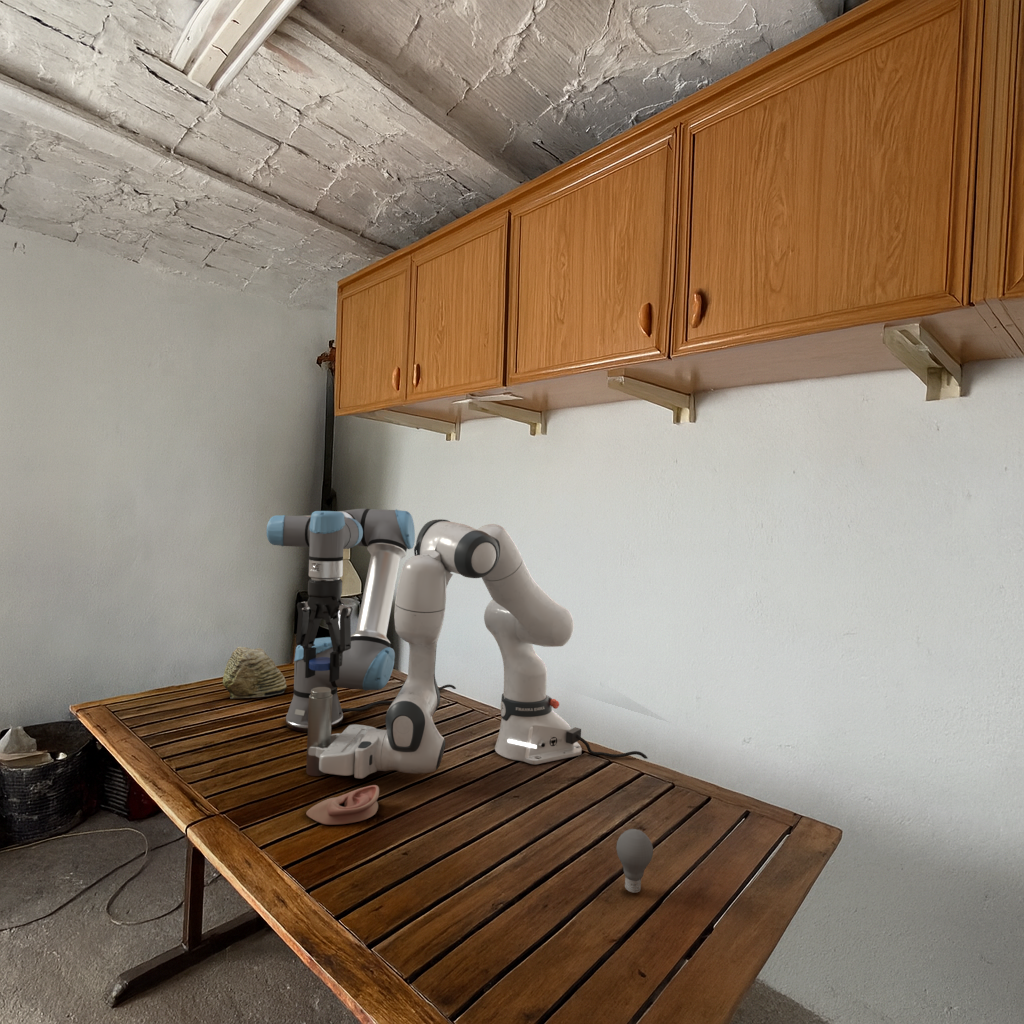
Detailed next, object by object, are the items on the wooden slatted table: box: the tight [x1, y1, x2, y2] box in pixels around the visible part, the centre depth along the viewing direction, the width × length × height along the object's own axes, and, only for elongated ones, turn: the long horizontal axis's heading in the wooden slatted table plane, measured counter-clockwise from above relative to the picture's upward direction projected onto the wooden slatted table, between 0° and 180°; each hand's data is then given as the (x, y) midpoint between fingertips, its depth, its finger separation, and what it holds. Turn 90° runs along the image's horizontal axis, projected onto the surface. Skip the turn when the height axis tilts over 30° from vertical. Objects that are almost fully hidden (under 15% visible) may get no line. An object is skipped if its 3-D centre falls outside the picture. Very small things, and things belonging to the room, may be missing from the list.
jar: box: [305, 687, 333, 777], centre depth 146 cm, size 5×5×19 cm
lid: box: [309, 657, 330, 671], centre depth 146 cm, size 6×6×2 cm
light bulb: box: [615, 828, 654, 894], centre depth 106 cm, size 6×6×10 cm
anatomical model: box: [305, 784, 380, 826], centre depth 128 cm, size 13×4×12 cm
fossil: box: [222, 646, 288, 699], centre depth 198 cm, size 9×18×15 cm, turn 132°
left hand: (322, 678), depth 146 cm, fingers closed on lid, 6 cm apart
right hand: (315, 744), depth 146 cm, fingers closed on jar, 5 cm apart
